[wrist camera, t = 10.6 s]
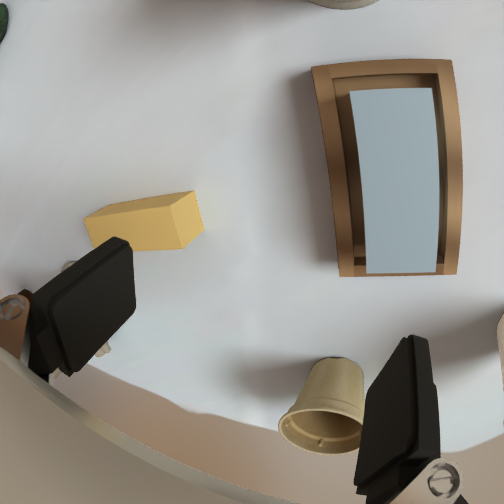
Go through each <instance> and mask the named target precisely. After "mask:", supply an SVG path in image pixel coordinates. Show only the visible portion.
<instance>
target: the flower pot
mask: <svg viewBox="0 0 504 504" xmlns="http://www.w3.org/2000/svg"><path fill="white" fill-rule="evenodd" d="M364 409H365V403H364V376H363V372H362V370H361V368H360V367H359V366H358V365H357V364H356V363H354V362H352V361H351V360H348V359H345V358H339V359H333V358H326V359H323V360H320V361H319V362H317V363H316V364H315V365H314V366H313V368H312V369H311V372H310V374H309V376H308V378H307V380H306V383H305V385H304V387H303V388H302V390H301V392H300V394H299V396H298V398H297V400H296V402H295V404H294V405H293V406H292V407H291V408H290V409H289V411H288V412H287V413H286V414H284V415H283V416H282V417H281V419H280V421H279V424H278V429H279V432H280V434H281V435H282V436H283V438H284V439H285V440H286V441H288V442H289V443H290V444H292V445H294V446H296V447H298V448H300V449H302V450H305V451H308V452H311V453H315V454H322V455H343V454H349V453H352V452H356V451H357V450H359V447H360V440H361V433H362V425H363V417H364Z"/></svg>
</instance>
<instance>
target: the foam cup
mask: <svg viewBox="0 0 504 504" xmlns="http://www.w3.org/2000/svg"><path fill="white" fill-rule="evenodd" d="M497 341H498V347H499V354H500V361H501V369H502V379H503V390H504V314H503V315H502V317H501V319H500V321H499V323H498V325H497ZM503 424H504V421H503Z"/></svg>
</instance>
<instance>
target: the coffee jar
mask: <svg viewBox="0 0 504 504" xmlns="http://www.w3.org/2000/svg"><path fill="white" fill-rule="evenodd" d="M7 22H8V9H7V7H6V5H5V4H4V3H1V4H0V42H1V40H2V39H3V37H4V35H5V33H6V27H7Z"/></svg>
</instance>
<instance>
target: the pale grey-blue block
mask: <svg viewBox="0 0 504 504" xmlns="http://www.w3.org/2000/svg"><path fill="white" fill-rule="evenodd" d="M349 92H350V98H351V104H352V110H353V117H354V124H355V131H356V138H357V146H358V154H359V163H360V173H361V183H362V194H363V207H364V223H365V242H366V274H368V273H424V272H436V261H437V248H438V231H439V160H438V143H437V130H436V119H435V110H434V102H433V94H432V88H394V89H373V90H358V91H349Z"/></svg>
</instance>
